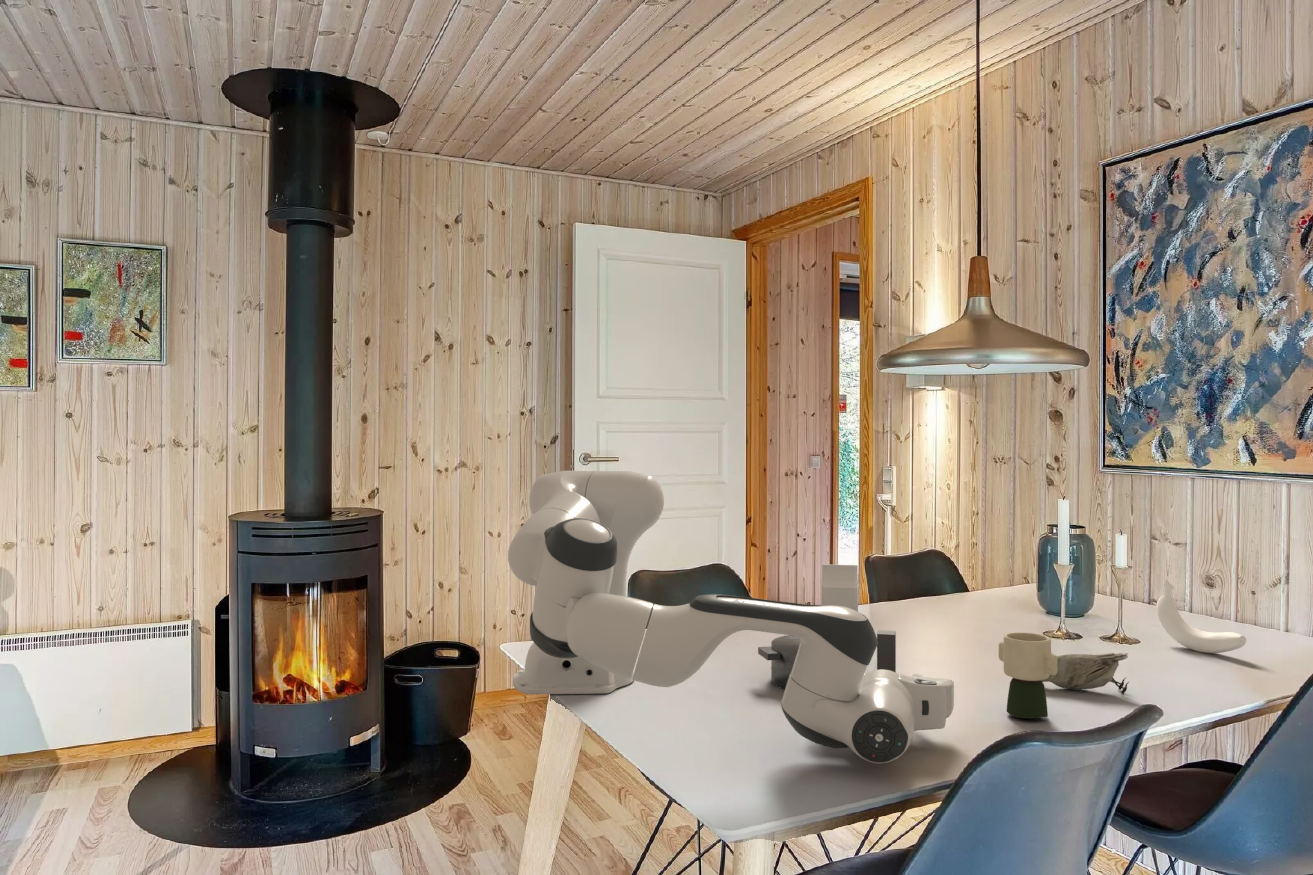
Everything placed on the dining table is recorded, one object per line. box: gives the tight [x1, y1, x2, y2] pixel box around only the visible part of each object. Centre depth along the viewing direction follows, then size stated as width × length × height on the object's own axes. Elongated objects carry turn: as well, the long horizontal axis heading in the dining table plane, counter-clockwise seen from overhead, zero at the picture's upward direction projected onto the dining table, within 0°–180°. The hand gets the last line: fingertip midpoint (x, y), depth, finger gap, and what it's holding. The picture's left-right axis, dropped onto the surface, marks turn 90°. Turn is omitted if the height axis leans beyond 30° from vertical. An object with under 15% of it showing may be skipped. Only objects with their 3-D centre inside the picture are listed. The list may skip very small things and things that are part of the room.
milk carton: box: [821, 563, 859, 612], centre depth 181 cm, size 7×7×19 cm
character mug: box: [998, 631, 1058, 721], centre depth 143 cm, size 11×7×13 cm, turn 29°
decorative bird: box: [1041, 652, 1130, 697], centre depth 158 cm, size 5×16×8 cm, turn 72°
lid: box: [876, 629, 897, 673], centre depth 151 cm, size 14×14×12 cm
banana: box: [1156, 577, 1247, 654], centre depth 185 cm, size 5×19×15 cm, turn 28°
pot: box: [757, 635, 801, 690], centre depth 163 cm, size 20×16×7 cm
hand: (886, 677), depth 143 cm, fingers open, 8 cm apart
